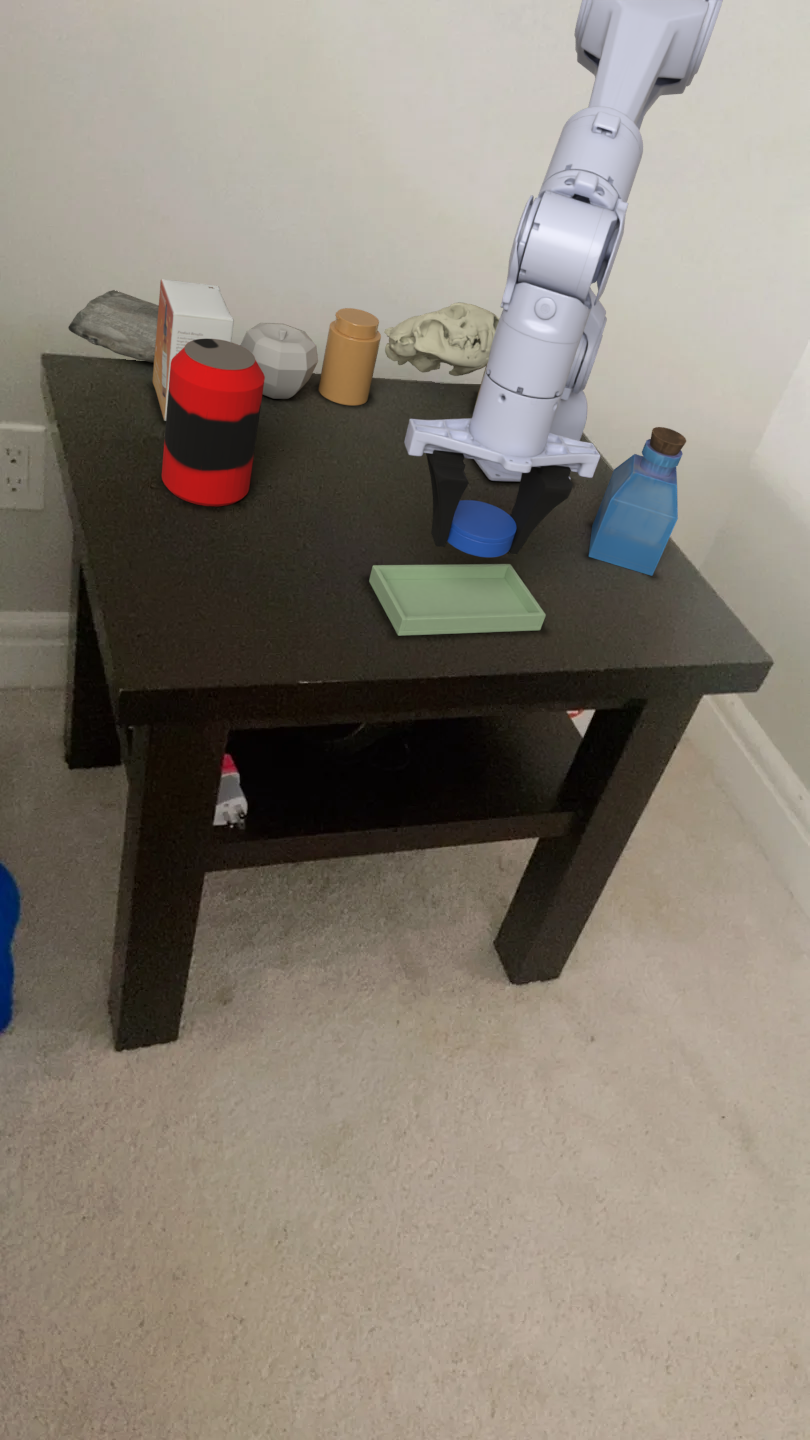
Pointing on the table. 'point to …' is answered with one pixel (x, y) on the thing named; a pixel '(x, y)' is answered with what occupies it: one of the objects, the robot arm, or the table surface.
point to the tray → (455, 599)
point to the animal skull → (444, 339)
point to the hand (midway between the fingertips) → (473, 543)
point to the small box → (186, 325)
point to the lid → (481, 529)
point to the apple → (282, 357)
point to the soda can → (211, 422)
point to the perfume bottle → (640, 505)
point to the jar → (350, 357)
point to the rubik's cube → (481, 383)
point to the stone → (119, 325)
